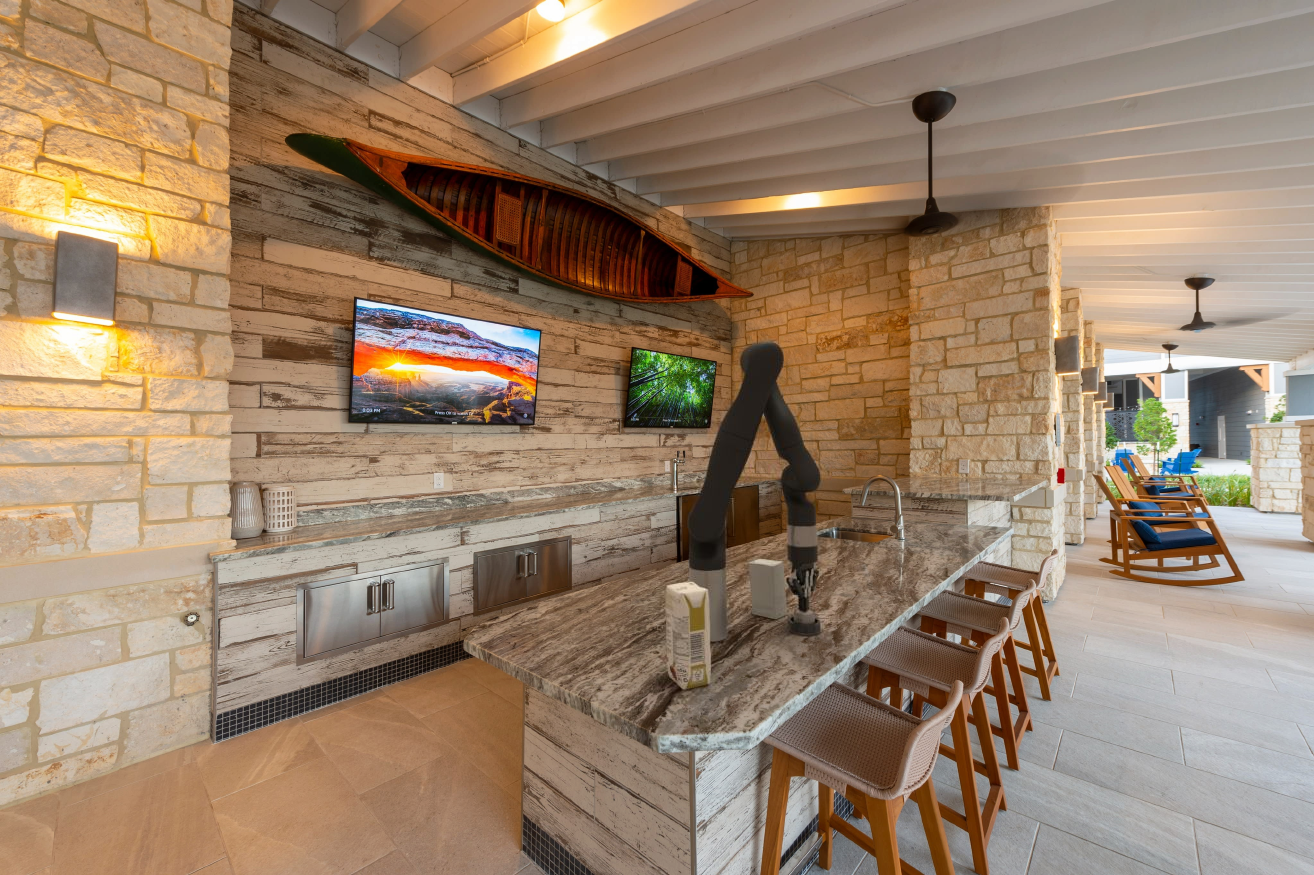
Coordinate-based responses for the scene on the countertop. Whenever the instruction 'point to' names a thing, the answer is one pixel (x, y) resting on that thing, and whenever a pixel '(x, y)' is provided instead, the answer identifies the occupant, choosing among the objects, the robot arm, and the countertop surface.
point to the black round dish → (804, 627)
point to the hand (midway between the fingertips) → (803, 610)
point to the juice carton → (688, 634)
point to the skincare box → (767, 588)
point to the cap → (804, 617)
